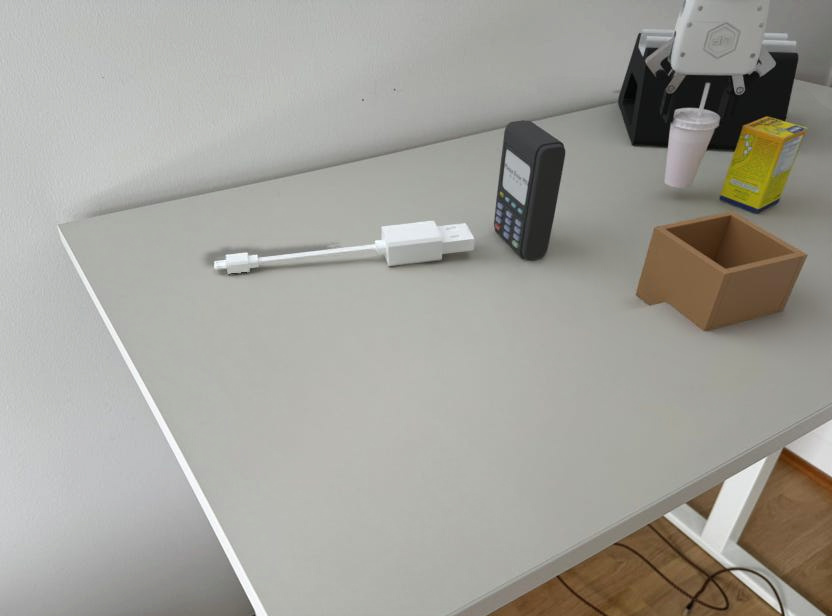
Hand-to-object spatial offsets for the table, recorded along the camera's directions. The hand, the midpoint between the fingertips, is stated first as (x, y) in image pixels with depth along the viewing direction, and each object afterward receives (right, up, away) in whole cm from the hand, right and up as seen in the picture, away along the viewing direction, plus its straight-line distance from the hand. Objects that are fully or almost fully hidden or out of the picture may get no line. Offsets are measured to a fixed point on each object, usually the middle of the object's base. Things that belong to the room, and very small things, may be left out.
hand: (694, 119), depth 96 cm
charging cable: (-47, -20, -6) cm, 52 cm away
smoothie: (0, -7, +6) cm, 9 cm away
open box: (-7, -27, -16) cm, 32 cm away
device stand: (+13, +8, +29) cm, 33 cm away
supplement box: (+10, -10, +5) cm, 15 cm away
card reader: (-25, -18, -4) cm, 31 cm away
